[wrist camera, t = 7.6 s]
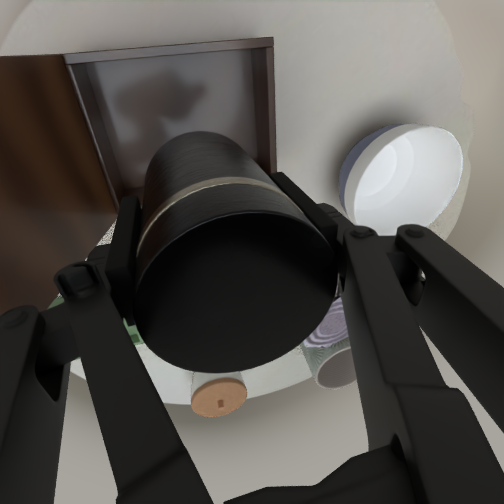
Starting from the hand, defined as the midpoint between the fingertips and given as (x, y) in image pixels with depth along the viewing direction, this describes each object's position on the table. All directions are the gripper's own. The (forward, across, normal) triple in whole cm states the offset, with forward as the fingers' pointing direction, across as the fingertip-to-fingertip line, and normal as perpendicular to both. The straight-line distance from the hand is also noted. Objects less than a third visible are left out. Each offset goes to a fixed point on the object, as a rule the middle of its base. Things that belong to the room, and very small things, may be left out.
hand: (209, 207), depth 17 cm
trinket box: (+26, -3, -48) cm, 55 cm away
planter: (+26, +21, -44) cm, 55 cm away
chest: (+26, 0, 0) cm, 26 cm away
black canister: (+3, 0, 0) cm, 3 cm away
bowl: (+26, +27, -10) cm, 39 cm away
